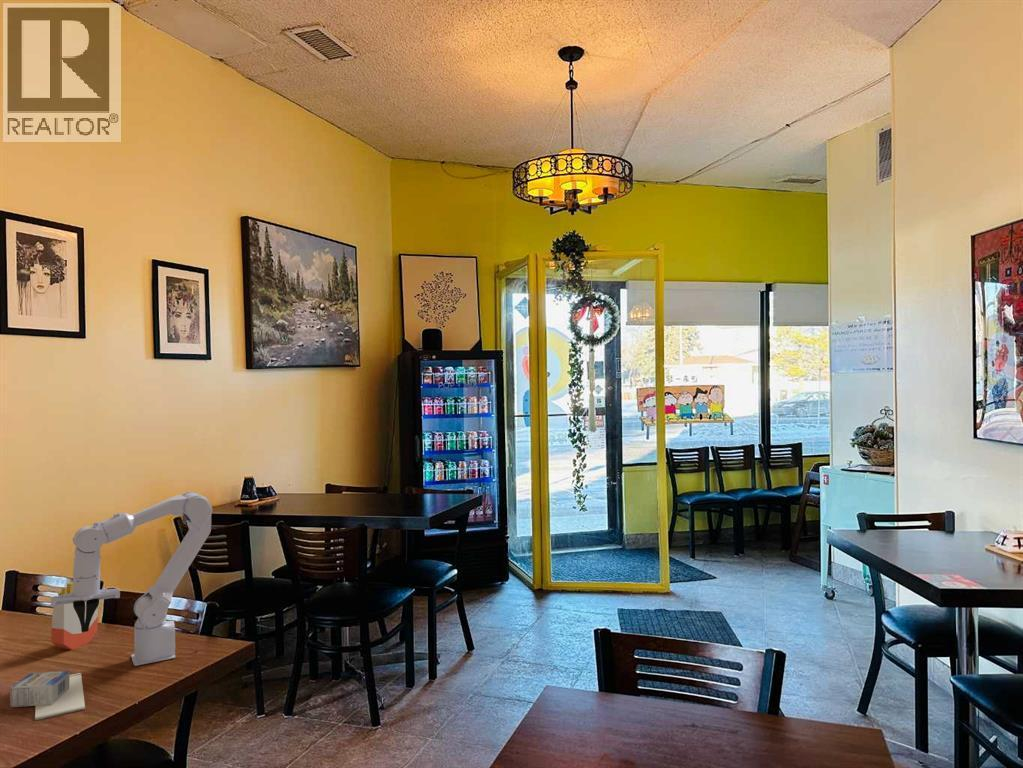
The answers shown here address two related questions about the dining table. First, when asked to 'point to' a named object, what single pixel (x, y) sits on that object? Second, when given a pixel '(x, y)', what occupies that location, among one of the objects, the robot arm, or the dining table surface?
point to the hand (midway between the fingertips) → (84, 630)
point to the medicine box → (39, 689)
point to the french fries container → (70, 625)
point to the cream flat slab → (64, 700)
